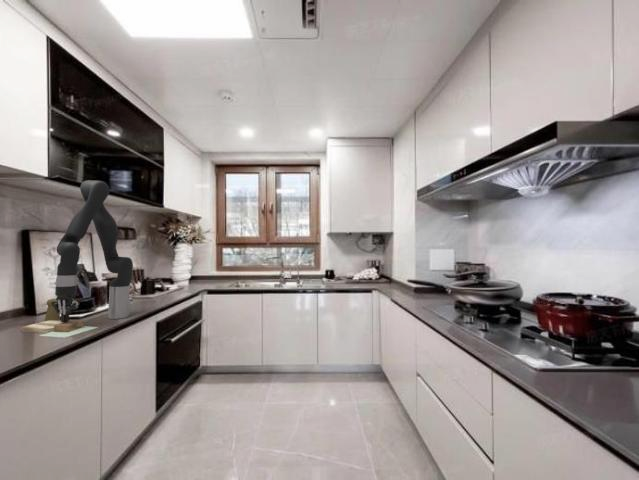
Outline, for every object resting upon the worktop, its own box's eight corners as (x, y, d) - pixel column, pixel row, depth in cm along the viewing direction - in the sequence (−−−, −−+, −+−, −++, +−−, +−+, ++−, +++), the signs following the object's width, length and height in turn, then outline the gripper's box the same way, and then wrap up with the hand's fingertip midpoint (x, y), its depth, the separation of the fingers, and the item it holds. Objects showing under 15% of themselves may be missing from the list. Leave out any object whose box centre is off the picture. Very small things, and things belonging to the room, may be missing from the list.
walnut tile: (71, 326, 138) (71, 320, 138) (83, 326, 138) (84, 320, 138) (53, 332, 129) (54, 325, 129) (67, 332, 129) (67, 325, 129)
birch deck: (50, 324, 143) (50, 320, 143) (75, 325, 141) (75, 321, 141) (20, 331, 130) (20, 327, 130) (47, 333, 128) (47, 329, 128)
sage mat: (74, 326, 140) (74, 325, 140) (97, 327, 139) (97, 327, 139) (38, 336, 124) (38, 335, 124) (64, 338, 123) (64, 337, 123)
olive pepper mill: (63, 319, 152) (64, 298, 153) (51, 322, 146) (53, 300, 147) (53, 318, 153) (54, 297, 153) (41, 321, 147) (42, 299, 147)
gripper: (86, 284, 138) (84, 320, 138) (62, 283, 140) (60, 319, 139) (71, 286, 131) (69, 325, 130) (45, 285, 132) (43, 323, 132)
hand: (64, 322), depth 135 cm, fingers closed
